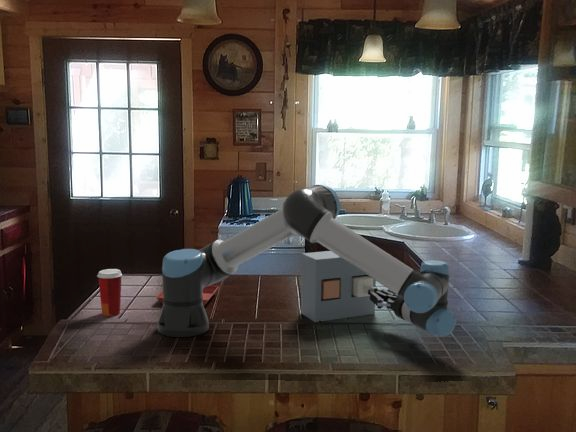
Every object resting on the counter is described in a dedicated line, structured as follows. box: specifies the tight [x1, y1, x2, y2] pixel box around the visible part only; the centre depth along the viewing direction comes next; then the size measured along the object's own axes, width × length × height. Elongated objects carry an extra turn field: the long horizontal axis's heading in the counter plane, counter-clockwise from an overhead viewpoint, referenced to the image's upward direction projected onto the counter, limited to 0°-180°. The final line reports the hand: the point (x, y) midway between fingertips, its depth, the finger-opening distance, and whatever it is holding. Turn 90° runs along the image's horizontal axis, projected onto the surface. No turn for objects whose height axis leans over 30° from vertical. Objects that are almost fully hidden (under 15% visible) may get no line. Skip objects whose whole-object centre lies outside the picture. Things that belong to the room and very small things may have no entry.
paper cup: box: [96, 268, 123, 317], centre depth 202 cm, size 8×8×14 cm
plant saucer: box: [155, 285, 219, 307], centre depth 220 cm, size 18×18×3 cm
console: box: [300, 250, 377, 323], centre depth 204 cm, size 10×22×20 cm, turn 115°
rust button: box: [321, 278, 340, 299], centre depth 199 cm, size 5×6×6 cm
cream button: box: [352, 275, 373, 297], centre depth 202 cm, size 5×6×6 cm
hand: (366, 288), depth 199 cm, fingers closed
